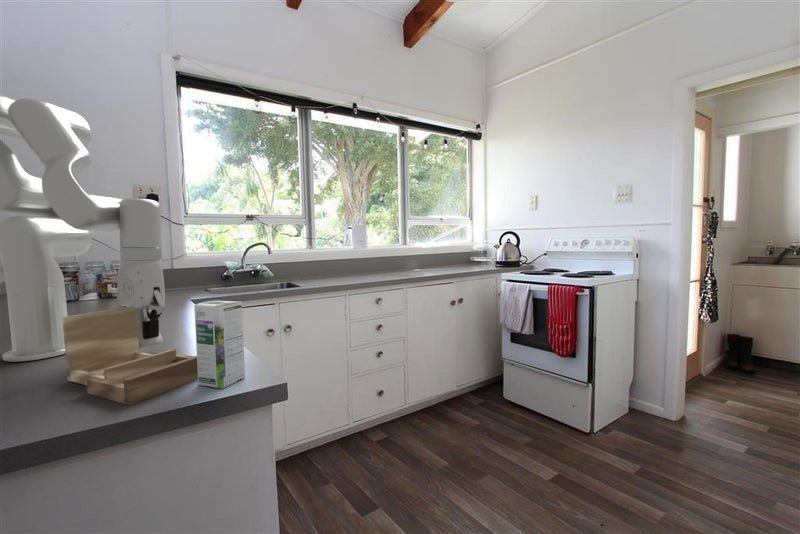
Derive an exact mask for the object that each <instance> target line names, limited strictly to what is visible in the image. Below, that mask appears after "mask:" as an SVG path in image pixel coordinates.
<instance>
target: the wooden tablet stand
mask: <svg viewBox="0 0 800 534" xmlns="http://www.w3.org/2000/svg"><path fill="white" fill-rule="evenodd" d="M62 321H63V333H64V344H65V354H64V355H65V365H66V377H67V381H69V382H73V383H76V384H81V385H83V386H87V379H88V378H92V377H99V378H103V379H107V380H111V381H115V382H119V383H123V384H124V381H123V379H126V378H129V377H132V376H135V375H139V374H142V373H145V372H148V371H151V370H154V369H157V368H160V367H163V366H166V365H170V364H173V363H176V353H177V350H176V349H173V348H172V349H168V350H166V351H162V352H159V353H154V354H153V353H148V352H142V351H140V347H139V343H138V329H137V315H136V306H129V307H124V306H122V307H118V308H111V309H106V310H100V311H92V312H91V311H90V312H86V313H79V314H75V315H74V314H73V315H67V316H66V317H62Z"/></svg>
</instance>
